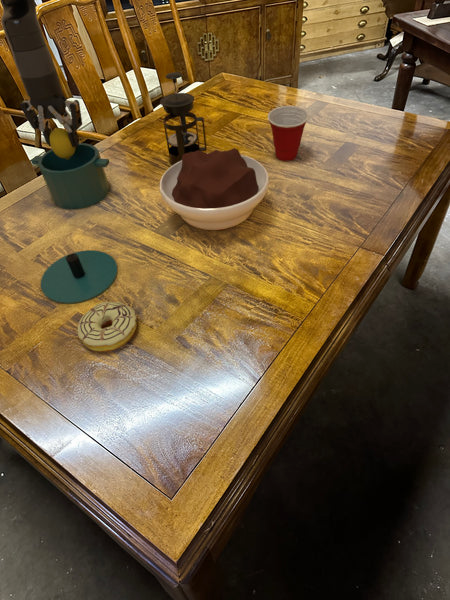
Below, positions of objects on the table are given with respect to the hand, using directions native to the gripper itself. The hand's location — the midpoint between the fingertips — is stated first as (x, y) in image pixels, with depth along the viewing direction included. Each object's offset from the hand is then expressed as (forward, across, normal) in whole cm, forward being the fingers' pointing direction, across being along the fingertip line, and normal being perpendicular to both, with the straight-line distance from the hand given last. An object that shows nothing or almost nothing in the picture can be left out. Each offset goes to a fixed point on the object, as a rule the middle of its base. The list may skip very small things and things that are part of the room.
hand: (64, 145), depth 101 cm
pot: (+14, 0, 0) cm, 14 cm away
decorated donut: (+14, -26, +44) cm, 53 cm away
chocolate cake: (+14, -38, +5) cm, 41 cm away
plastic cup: (+14, -52, -24) cm, 59 cm away
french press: (+14, -24, -20) cm, 34 cm away
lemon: (+4, 0, 0) cm, 4 cm away
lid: (+13, -14, +31) cm, 36 cm away
